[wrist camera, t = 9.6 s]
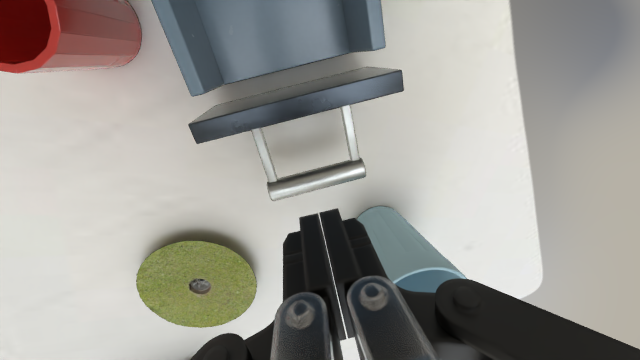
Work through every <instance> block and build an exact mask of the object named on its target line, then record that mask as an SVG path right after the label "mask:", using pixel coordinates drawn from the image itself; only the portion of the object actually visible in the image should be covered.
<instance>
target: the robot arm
mask: <svg viewBox="0 0 640 360" xmlns="http://www.w3.org/2000/svg"><path fill="white" fill-rule="evenodd" d="M320 218H321V222H322V227H323V231H324V236H325V240H326V245H327V249H328V253H327V249H326V245H325V241H324V236H323V232H322V228H321V224H320V220H319V216H318V213H316V214H312V215H308V216H304V217H300V218H299V219H300V230H301V231H298V232H294V233H289V234H288V236H287V238H286V239H285V241H284V243H283V303H282V304H281V305H280V307H279V308H278V310H277V313H276V316H275V320H274V321H273V322H272V323H271V324H270V325H269V326H267V327H266V328H265V329H263V330H261V331H260V332H258V333H256V334H254V335H253V336H251V337H249V338H247V339H246V340H243V339H242V337H240V336H239V335H237V334H232V333H227V334H222V335H219V336H217V337H215V338H213V339H211V340H210V341H208V342H207V343H206V344H205V345H204V346H203V347H202V348H201V349H200V350H199V351H198V352H197V353H196V354H195V355H194V356H193V357H192V359H191V360H343V356H342V351H341V346H340V340H344V339H346V336H345V331H344V326H343V322H342V317H341V313H340V308H339V303H338V299H337V294H336V290H335V285H336V289H337V293H338V297H339V301H340V306H341V310H342V314H343V318H344V322H345V326H346V331H347V335H348V338H352V337H355V340H356V344H357V348H358V352H359V356H360V360H640V350H639V349H637V348H635V347H633V346H630V345H628V344H625V343H623V342H620V341H618V340H616V339H613V338H611V337H608V336H606V335H604V334H601V333H599V332H596V331H594V330H591V329H589V328H587V327H584V326H582V325H579V324H577V323H575V322H572V321H570V320H567V319H565V318H563V317H560V316H558V315H555V314H553V313H551V312H548V311H546V310H543V309H541V308H538V307H536V306H534V305H531V304H529V303H526V302H524V301H521V300H519V299H517V298H514V297H512V296H509V295H507V294H505V293H502V292H500V291H497V290H495V289H493V288H490V287H488V286H485V285H483V284H481V283H478V282H475V281H473V280H469V279H462V278H456V279H450V280H447V281H445V282H443V283H442V284H440V285H439V287H438V288H437V290H436V293H433V292H415V291H409V290H405V289H403V288H401V287H398V286H397V285H395V284H394V283H393V282H392V281H391V280H390V279H389V278H388V276H387V275H386V273H385V270H384V268H383V266H382V264H381V262H380V260H379V257H378V255H377V253H376V251H375V249H374V247H373V244H372V243H371V240H370V238H369V236H368V234H367V231H366V229H365V227H364V225H363V224H362V223H361V222H359V221H358V220H356V219H355V218H352V219H348V220H344V221H342V219H341V216H340V213H339V211H338V208H337V209H333V210H329V211H325V212H320ZM328 254H329V258H330V262H329V258H328ZM330 263H331V267H332V271H331V267H330ZM332 272H333V276H334V280H335V285H334V281H333V276H332Z"/></svg>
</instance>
